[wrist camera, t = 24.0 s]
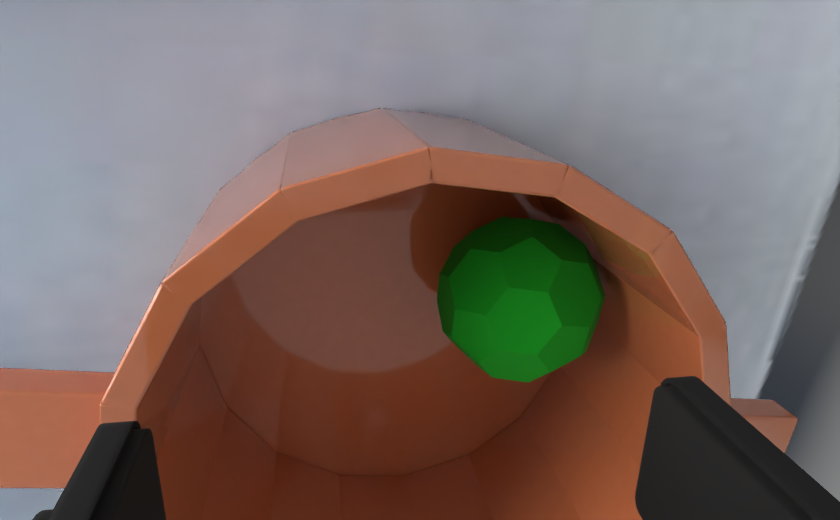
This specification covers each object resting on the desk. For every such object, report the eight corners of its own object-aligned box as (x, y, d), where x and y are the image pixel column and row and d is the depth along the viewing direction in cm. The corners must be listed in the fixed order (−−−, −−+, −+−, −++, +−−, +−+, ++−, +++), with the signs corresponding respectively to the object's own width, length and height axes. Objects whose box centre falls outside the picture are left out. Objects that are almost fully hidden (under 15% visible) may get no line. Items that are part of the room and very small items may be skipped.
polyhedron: (491, 357, 22) (622, 318, 20) (463, 429, 17) (629, 387, 16) (437, 232, 21) (568, 181, 19) (393, 273, 17) (558, 211, 15)
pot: (89, 65, 17) (-96, 79, 9) (691, 149, 21) (914, 208, 14) (97, 478, 22) (-23, 725, 14) (596, 482, 26) (722, 672, 18)
